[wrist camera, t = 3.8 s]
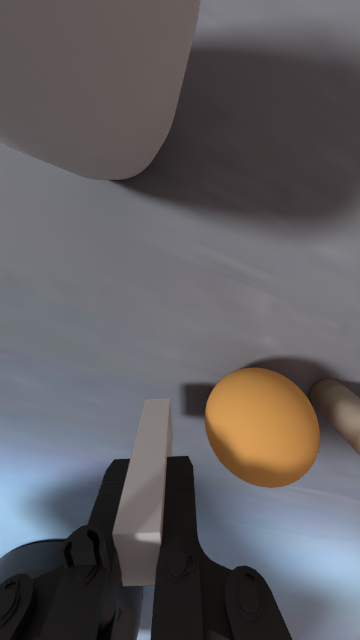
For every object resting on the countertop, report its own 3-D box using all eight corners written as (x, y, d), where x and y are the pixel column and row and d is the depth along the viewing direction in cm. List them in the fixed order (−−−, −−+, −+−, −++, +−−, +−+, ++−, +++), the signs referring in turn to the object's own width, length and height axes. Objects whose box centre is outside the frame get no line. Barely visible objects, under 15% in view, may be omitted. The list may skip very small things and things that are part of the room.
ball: (193, 482, 12) (231, 415, 17) (314, 549, 9) (321, 443, 14) (177, 393, 11) (224, 346, 15) (316, 432, 7) (323, 357, 12)
